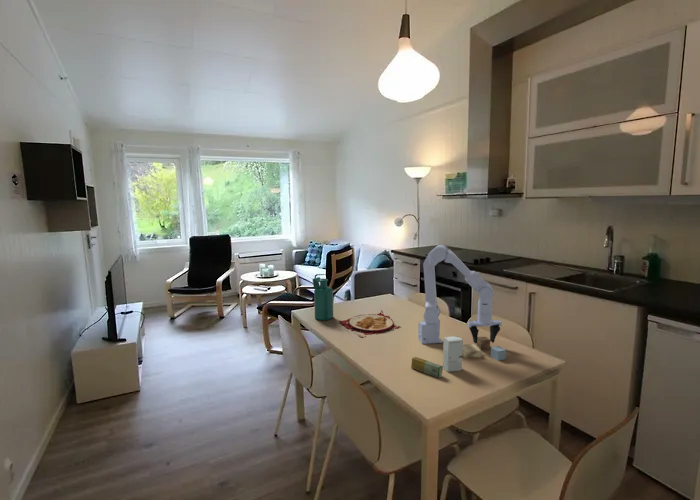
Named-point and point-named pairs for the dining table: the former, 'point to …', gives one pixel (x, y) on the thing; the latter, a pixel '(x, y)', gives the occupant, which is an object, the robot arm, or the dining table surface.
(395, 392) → the dining table surface
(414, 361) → the medication box
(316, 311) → the green tall canister
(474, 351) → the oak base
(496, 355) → the slate block
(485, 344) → the walnut block
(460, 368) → the skincare box
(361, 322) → the plate with food
